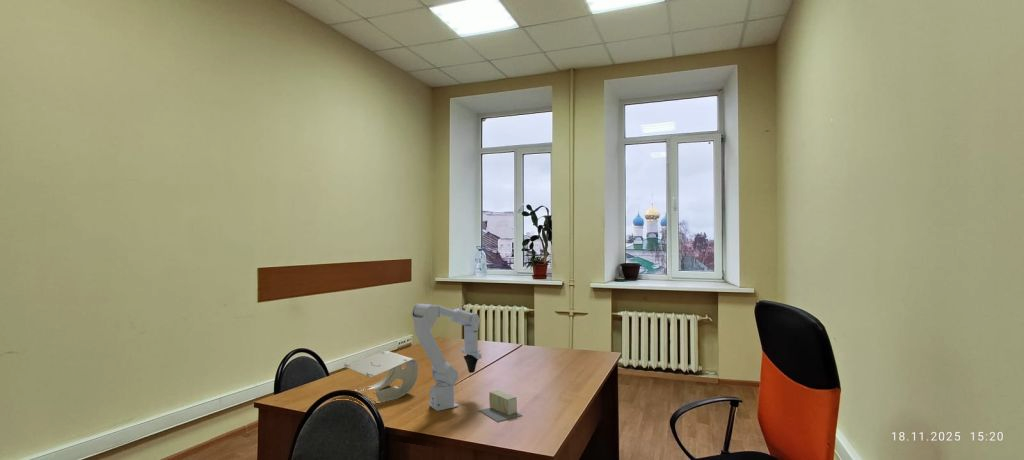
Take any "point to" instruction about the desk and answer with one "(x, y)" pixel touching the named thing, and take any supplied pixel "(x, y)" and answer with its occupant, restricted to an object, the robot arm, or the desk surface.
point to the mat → (498, 414)
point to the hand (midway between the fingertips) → (471, 372)
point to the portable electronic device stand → (394, 365)
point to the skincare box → (503, 402)
